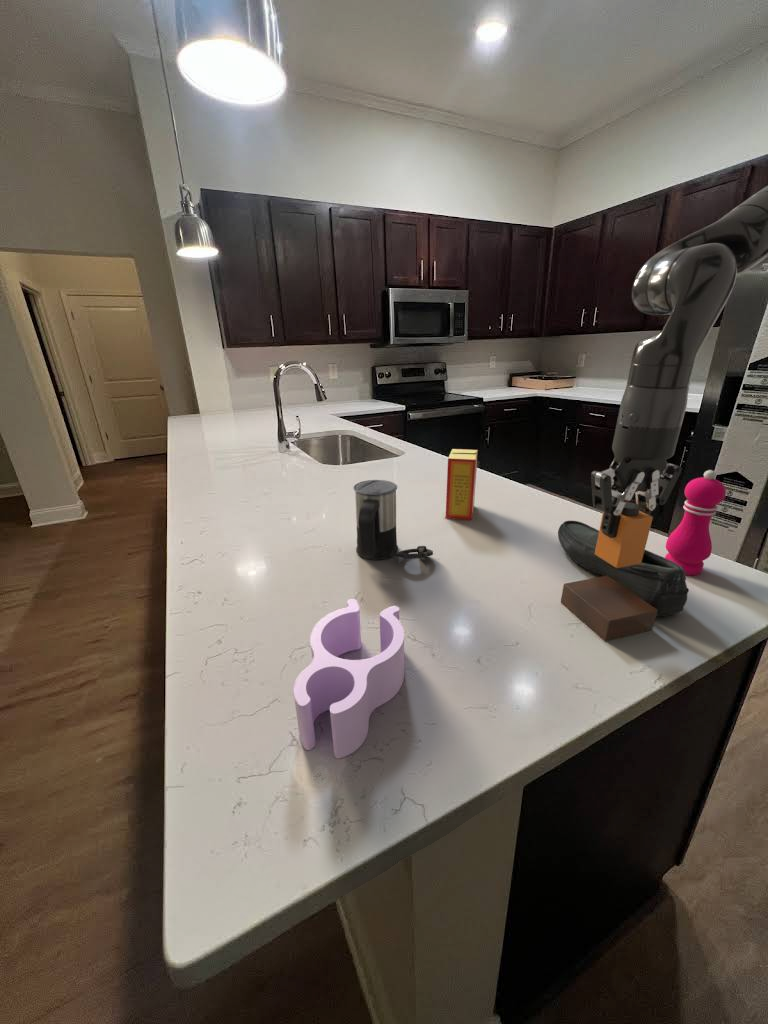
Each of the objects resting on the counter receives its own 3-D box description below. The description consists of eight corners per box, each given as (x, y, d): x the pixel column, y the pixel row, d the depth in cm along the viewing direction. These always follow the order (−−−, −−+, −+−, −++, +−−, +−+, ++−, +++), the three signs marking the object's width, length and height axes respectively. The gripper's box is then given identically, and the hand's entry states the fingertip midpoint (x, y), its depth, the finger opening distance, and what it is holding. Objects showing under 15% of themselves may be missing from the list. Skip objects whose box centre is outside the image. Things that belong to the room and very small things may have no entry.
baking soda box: (471, 520, 105) (475, 458, 99) (445, 517, 107) (448, 457, 100) (473, 506, 113) (477, 448, 107) (449, 504, 115) (452, 447, 109)
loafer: (579, 538, 94) (587, 496, 90) (704, 613, 69) (723, 559, 65) (540, 546, 92) (547, 503, 88) (656, 627, 66) (672, 571, 62)
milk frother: (355, 541, 96) (352, 480, 90) (423, 537, 97) (424, 476, 91) (358, 574, 83) (354, 505, 77) (436, 568, 84) (439, 500, 78)
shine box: (652, 630, 66) (658, 610, 64) (604, 641, 63) (609, 621, 62) (603, 593, 75) (607, 575, 73) (560, 602, 73) (563, 583, 71)
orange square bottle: (655, 509, 60) (629, 498, 64) (628, 513, 59) (604, 501, 63) (641, 563, 63) (618, 549, 68) (616, 568, 62) (594, 554, 66)
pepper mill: (712, 571, 81) (745, 472, 73) (690, 580, 78) (722, 479, 70) (674, 555, 87) (701, 462, 79) (652, 563, 84) (678, 468, 76)
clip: (374, 768, 46) (372, 723, 43) (273, 740, 49) (265, 696, 46) (414, 646, 63) (415, 608, 60) (338, 632, 67) (335, 595, 64)
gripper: (667, 411, 62) (641, 517, 68) (584, 418, 58) (566, 529, 65) (716, 421, 55) (682, 537, 62) (627, 429, 51) (601, 551, 58)
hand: (622, 532), depth 63 cm, fingers closed on orange square bottle, 4 cm apart
